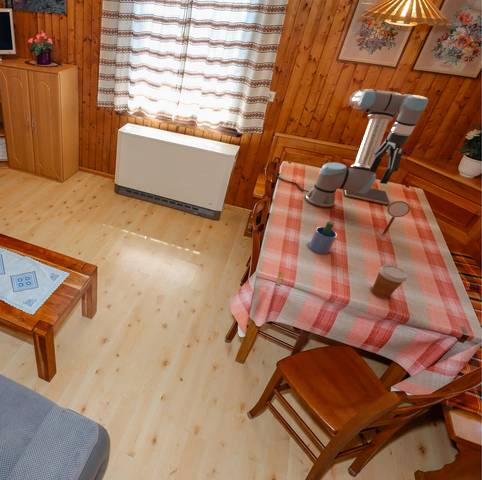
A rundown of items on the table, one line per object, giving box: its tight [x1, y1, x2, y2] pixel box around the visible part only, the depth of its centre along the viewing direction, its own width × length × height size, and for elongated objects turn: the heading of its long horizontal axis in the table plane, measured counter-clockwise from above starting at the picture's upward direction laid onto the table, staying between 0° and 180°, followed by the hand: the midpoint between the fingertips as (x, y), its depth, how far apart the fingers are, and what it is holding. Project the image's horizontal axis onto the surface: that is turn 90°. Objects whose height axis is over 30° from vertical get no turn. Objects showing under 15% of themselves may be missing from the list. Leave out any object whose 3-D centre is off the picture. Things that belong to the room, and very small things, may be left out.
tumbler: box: [308, 226, 338, 255], centre depth 179 cm, size 9×9×10 cm
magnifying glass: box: [382, 200, 411, 236], centre depth 189 cm, size 9×2×20 cm, turn 63°
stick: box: [322, 220, 335, 237], centre depth 177 cm, size 3×3×14 cm
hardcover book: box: [343, 187, 390, 206], centre depth 231 cm, size 16×23×2 cm
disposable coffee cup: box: [371, 264, 408, 299], centre depth 154 cm, size 10×10×12 cm
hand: (377, 177), depth 177 cm, fingers open, 13 cm apart
